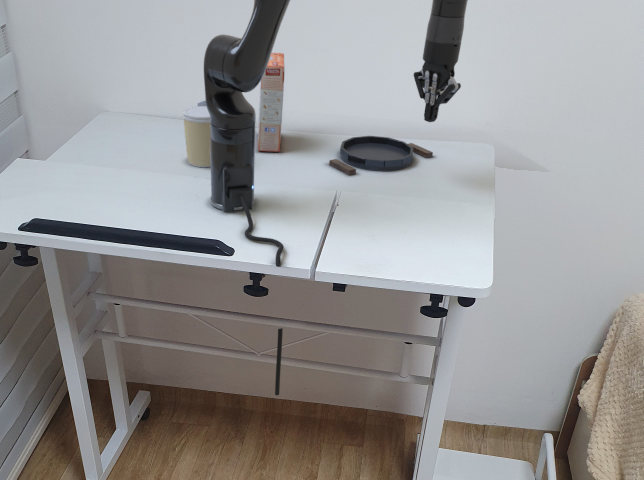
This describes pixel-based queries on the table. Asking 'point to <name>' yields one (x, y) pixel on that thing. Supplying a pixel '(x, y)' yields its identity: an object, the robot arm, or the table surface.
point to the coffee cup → (197, 136)
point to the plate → (376, 153)
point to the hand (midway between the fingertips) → (429, 121)
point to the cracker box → (271, 104)
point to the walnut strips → (351, 170)
